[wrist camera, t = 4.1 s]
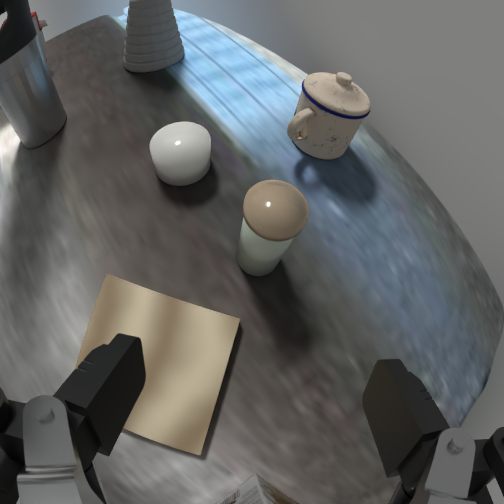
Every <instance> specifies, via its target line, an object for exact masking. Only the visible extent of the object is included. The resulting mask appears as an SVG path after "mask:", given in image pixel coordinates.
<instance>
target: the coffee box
mask: <svg viewBox="0 0 504 504" xmlns="http://www.w3.org/2000/svg"><path fill="white" fill-rule="evenodd" d="M216 504H299V503H297V502H296V501H294V500H293V499H291V498H289V497H288V496H286V495H285V494H283V493H282V492H280V491H279V490H278V489H276V488H275V487H273V486H272V485H271V484H269V483H268V482H266V481H265V480H264V479H262V478H261V477H260V476H258V475H257V474H255V475H254V476H252V477H251V478H250V479H248V480H247V481H246V482H245V483H243V484H242V485H241V486H240V487H238V488H237V489H236V490H234V491H233V492H232V493H230V494H229V495H227V496H226V497H225V498H223V499H222V500H221V501H219V502H218V503H216Z"/></svg>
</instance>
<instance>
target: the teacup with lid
mask: <svg viewBox="0 0 504 504" xmlns="http://www.w3.org/2000/svg"><path fill="white" fill-rule="evenodd" d="M369 112H370V101H369V98H368V97H367V95H366V94H365V92H364V91H363V90H362V89H360V87H359V86H357V85H356V84H354V83H353V82H352V78H351V76H350V75H348V74H346V73H343V72H339V73H337V75H335V74H331V73H324V72H323V73H322V72H320V73H313V74H311V75H309V76H307V77H306V78H305V79H304V81H303V82H302V92H301V95H300V98H299V101H298V104H297V108H296V111H295V114H294V117H293V118H292V119H291V121H290V123H289V125H288V129H287V134H288V136H289V138H290V139H292V140H293V142H294V143H295V144H296V145H297V146H298V147H299V148H300V149H301V150H302V151H304V152H305V153H307V154H309V155H311V156H313V157H316V158H320V159H335V158H338V157H340V156H342V155H343V154H344V153H345V151H346V149H347V147H348V146H349V144H350V142H351V140H352V139H353V137H354V135H355V133H356V132H357V130H358V128H359V126H360V124H361V123H362V121H363V119H364V117H366V116H367V115H368V114H369Z"/></svg>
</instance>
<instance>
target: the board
mask: <svg viewBox="0 0 504 504" xmlns="http://www.w3.org/2000/svg"><path fill="white" fill-rule="evenodd" d="M239 321H240V319H239V318H235V317H232V316H229V315H225V314H222V313H219V312H216V311H212V310H209V309H206V308H203V307H200V306H197V305H193V304H190V303H187V302H184V301H181V300H178V299H175V298H172V297H169V296H167V295H164V294H161V293H158V292H155V291H152V290H149V289H147V288H144V287H141V286H138V285H136V284H133V283H130V282H128V281H125V280H122V279H120V278H117V277H115V276H112V275H109V274H107V275H106V277H105V280H104V283H103V285H102V288H101V290H100V293H99V296H98V298H97V301H96V304H95V307H94V309H93V312H92V315H91V318H90V321H89V324H88V327H87V330H86V333H85V336H84V340H83V343H82V346H81V350H80V353H79V357H78V360H77V364H76V368H75V369H77V368H78V365H79V364H80V363H81V362H82V361H84V359H85V357H86V356H87V355H88V354H89V353H90V352H91V351H92V350H93V349H95V348H97V347H98V346H100V345H102V344H107V345H108V344H109V343H110V342H111V340H112V339H113V338H114V337H115V336H116V335H117V334H118V333H122V334H126V335H131V336H135V337H139V338H140V339H141V342H142V348H143V356H144V363H145V370H146V380H145V385H144V388H143V390H142V392H141V394H140V396H139V398H138V400H137V401H136V403H135V405H134V407H133V409H132V411H131V413H130V415H129V417H128V419H127V421H126V423H125V425H124V427H123V428H124V429H126V430H129V431H131V432H133V433H136V434H138V435H141V436H143V437H146V438H148V439H151V440H154V441H156V442H159V443H162V444H165V445H168V446H171V447H174V448H177V449H180V450H183V451H186V452H189V453H193V454H196V455H200V454H201V451H202V448H203V444H204V441H205V438H206V434H207V431H208V428H209V424H210V421H211V417H212V414H213V411H214V407H215V404H216V400H217V397H218V394H219V390H220V387H221V383H222V380H223V377H224V373H225V370H226V366H227V363H228V359H229V356H230V352H231V349H232V346H233V342H234V339H235V335H236V332H237V328H238V325H239Z"/></svg>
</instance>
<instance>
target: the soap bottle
mask: <svg viewBox="0 0 504 504" xmlns="http://www.w3.org/2000/svg"><path fill="white" fill-rule="evenodd" d="M171 7H172V5H171V0H130V2H129V8H128V17H127V25H126V34H125V40H126V41H125V44H124V48H125V49H124V58H123V64H124V66H125V68H126V69H127V70H129V71H132V72H141V73H144V72H152V71H157V70H161V69H164V68H168V67H170V66H172V65H174V64H176V63H178V62H179V61H180V60H181V59H182V58H183V56H184V47H183V45H182V40H181V38H180V33H179V31H178V26H177V23H176V19H175V16H174V12H173V8H171Z"/></svg>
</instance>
